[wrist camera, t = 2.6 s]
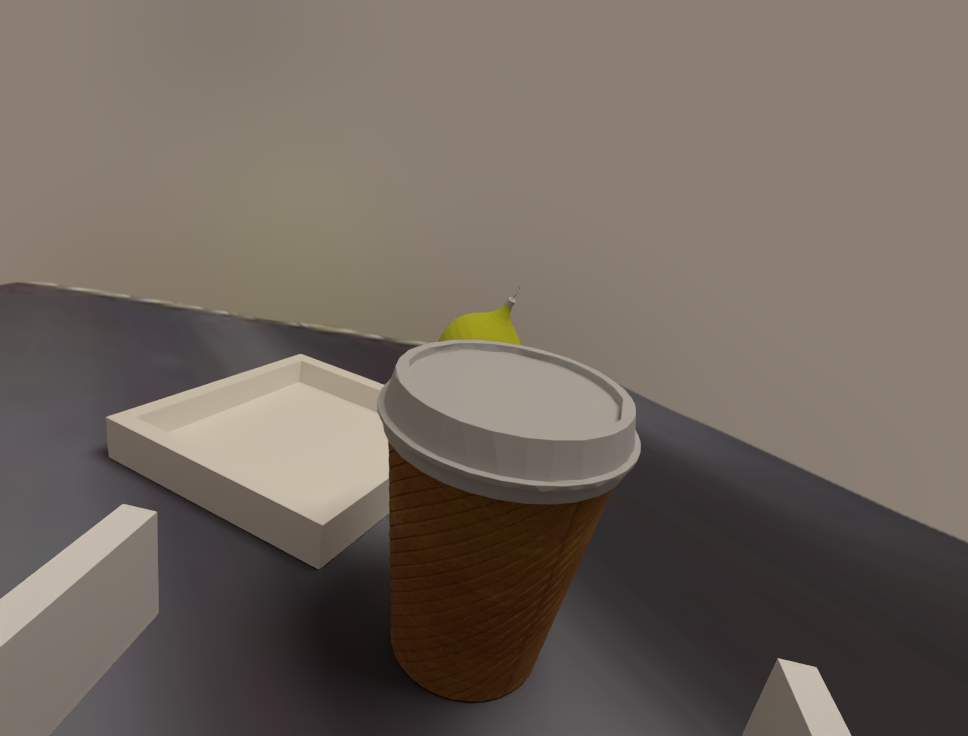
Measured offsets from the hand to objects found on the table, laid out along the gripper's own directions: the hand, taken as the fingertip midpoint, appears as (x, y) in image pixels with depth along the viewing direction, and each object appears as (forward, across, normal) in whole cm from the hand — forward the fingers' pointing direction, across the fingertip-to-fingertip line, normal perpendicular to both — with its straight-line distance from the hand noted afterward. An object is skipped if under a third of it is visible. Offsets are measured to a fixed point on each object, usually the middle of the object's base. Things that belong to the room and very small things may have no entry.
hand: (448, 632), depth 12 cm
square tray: (+22, -11, -10) cm, 26 cm away
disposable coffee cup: (+10, 0, -10) cm, 14 cm away
